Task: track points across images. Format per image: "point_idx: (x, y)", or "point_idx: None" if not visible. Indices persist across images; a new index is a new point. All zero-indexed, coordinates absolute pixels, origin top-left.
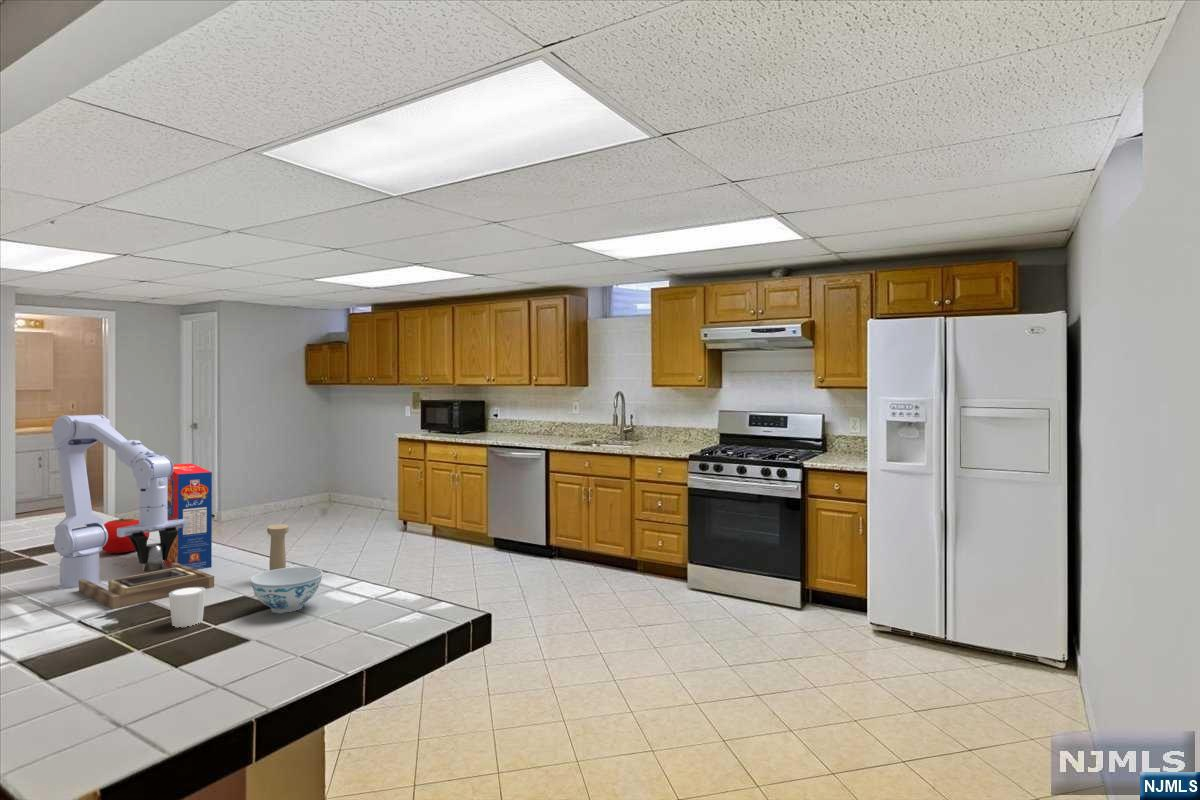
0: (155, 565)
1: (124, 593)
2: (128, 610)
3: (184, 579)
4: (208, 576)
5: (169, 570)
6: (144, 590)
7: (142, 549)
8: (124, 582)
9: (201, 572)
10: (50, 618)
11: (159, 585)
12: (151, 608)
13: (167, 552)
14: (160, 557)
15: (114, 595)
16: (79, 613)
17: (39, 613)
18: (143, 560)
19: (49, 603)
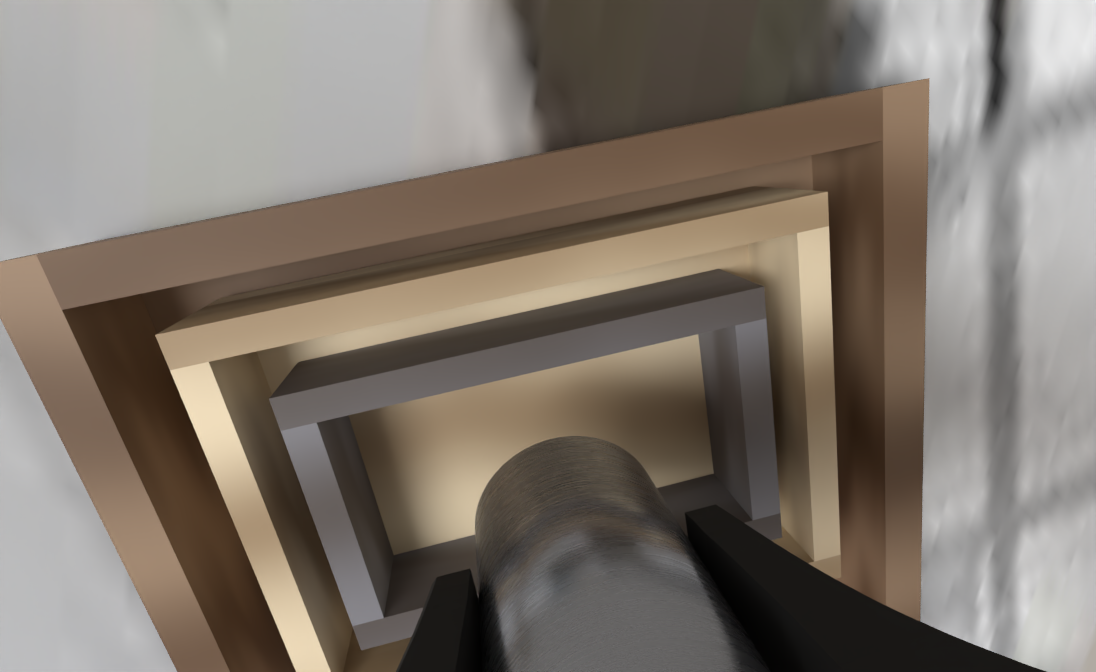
0: (578, 471)
1: (831, 149)
2: None
3: (299, 297)
4: (43, 293)
5: (390, 670)
6: (681, 136)
7: (875, 617)
8: (774, 444)
9: (115, 509)
10: (1065, 294)
11: (536, 246)
12: (596, 81)
13: (428, 644)
14: (531, 552)
15: (903, 138)
16: (942, 296)
17: (1061, 438)
18: (738, 520)
19: (972, 601)
